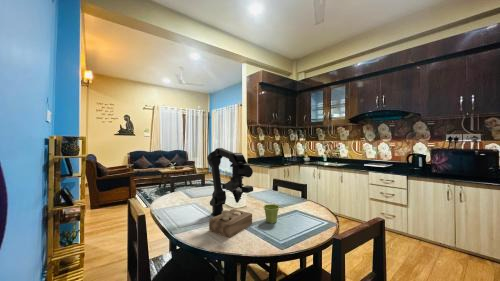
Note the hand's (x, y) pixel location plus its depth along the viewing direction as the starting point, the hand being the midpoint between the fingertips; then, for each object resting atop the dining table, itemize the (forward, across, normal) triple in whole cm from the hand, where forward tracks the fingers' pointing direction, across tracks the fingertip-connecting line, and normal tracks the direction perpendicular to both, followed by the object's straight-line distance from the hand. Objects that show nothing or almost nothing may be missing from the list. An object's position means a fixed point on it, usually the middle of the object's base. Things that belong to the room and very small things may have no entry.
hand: (237, 202), depth 116 cm
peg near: (+8, 0, -10) cm, 13 cm away
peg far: (+12, 0, 0) cm, 12 cm away
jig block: (+12, 0, -5) cm, 13 cm away
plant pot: (+13, +14, +15) cm, 24 cm away
